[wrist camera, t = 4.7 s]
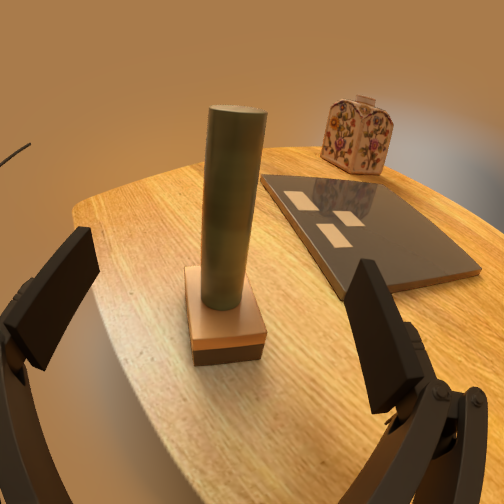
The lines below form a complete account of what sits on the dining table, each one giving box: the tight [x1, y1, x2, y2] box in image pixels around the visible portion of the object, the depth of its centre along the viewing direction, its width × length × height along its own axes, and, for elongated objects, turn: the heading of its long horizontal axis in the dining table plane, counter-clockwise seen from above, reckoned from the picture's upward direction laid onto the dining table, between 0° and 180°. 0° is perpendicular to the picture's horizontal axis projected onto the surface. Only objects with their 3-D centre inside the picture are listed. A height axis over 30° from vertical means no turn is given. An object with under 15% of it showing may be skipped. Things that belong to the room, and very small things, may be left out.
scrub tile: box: [260, 174, 482, 301], centre depth 38 cm, size 28×26×1 cm
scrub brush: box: [184, 105, 267, 366], centre depth 17 cm, size 7×5×15 cm, turn 14°
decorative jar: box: [321, 94, 394, 175], centre depth 59 cm, size 12×12×18 cm
